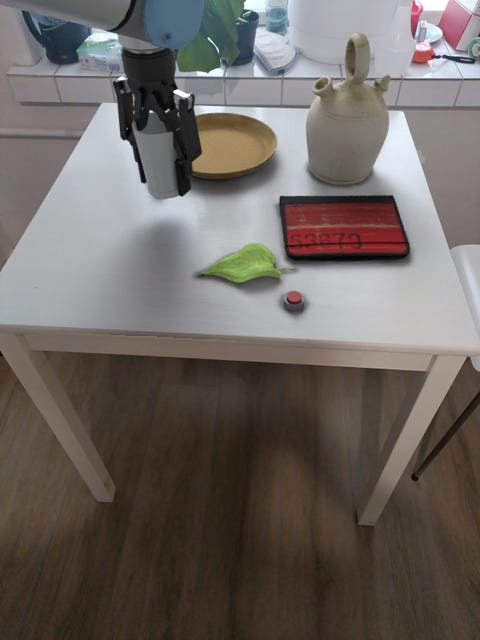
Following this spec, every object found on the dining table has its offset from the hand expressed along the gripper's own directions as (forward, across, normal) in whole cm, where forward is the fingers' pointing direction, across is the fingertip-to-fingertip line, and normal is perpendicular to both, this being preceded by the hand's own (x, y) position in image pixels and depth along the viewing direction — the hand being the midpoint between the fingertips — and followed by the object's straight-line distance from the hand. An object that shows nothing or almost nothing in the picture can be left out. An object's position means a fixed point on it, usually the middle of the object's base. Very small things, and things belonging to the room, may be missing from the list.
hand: (165, 185), depth 86 cm
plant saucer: (+6, +3, -22) cm, 23 cm away
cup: (+1, 0, 0) cm, 1 cm away
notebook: (+6, -30, -10) cm, 32 cm away
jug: (+6, -22, -29) cm, 36 cm away
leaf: (+6, -20, +6) cm, 21 cm away
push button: (+6, -30, +10) cm, 32 cm away
